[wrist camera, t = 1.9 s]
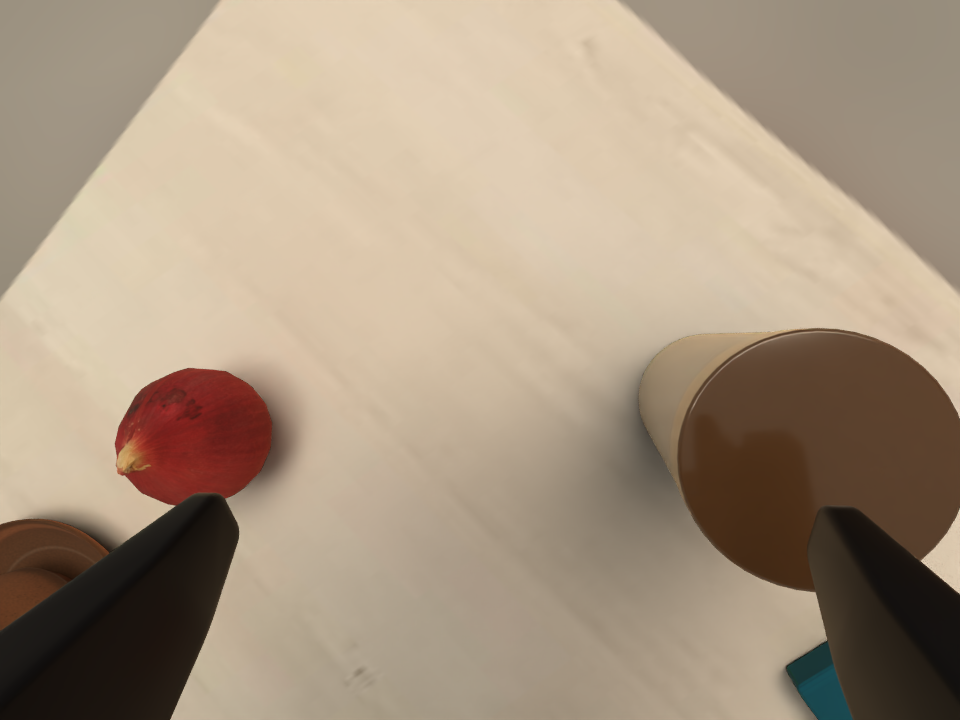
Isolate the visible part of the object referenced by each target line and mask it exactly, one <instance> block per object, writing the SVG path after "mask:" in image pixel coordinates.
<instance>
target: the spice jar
mask: <svg viewBox="0 0 960 720" xmlns="http://www.w3.org/2000/svg"><path fill="white" fill-rule="evenodd" d="M638 402H639V410H640V415H641V418H642V421H643V424H644V426H645V428H646V430H647V432H648V433H649V435H650V437H651V439H652V441H653V442H654V444H655V446H656V448H657V450H658V451H659V453H660V455H661V457H662V459H663V460H664V462H665V464H666V466H667V468H668V469H669V471H670V473H671V475H672V477H673V478H674V480H675V482H676V484H677V487H678V490H679V493H680V495H681V497H682V499H683V500H684V502H685V504H686V506H687V508H688V510H689V512H690V514H691V516H692V517H693V519H694V521H695V523H696V524H697V526H698V527H699V528H700V530H701V531H702V533H703V534H704V536H705V537H706V538H707V539H708V540H709V541H710V542H711V544H712V545H713V546H714V547H715V548H716V549H717V550H718V551H719V552H720V553H722V554H723V555H724V556H725V557H726V558H727V559H729V560H730V561H731V562H733V563H734V564H736V565H737V566H739V567H740V568H742V569H743V570H744V571H746V572H748V573H750V574H752V575H754V576H756V577H758V578H760V579H762V580H765V581H768V582H770V583H773V584H776V585H779V586H783V587H787V588H791V589H795V590H802V591H810V592H816V591H815V587H814V583H813V578H812V574H811V570H810V566H809V562H808V556H807V545H808V540H809V537H810V534H811V531H812V528H813V525H814V521H815V518H816V515H817V512H818V510H819V509H820V508H821V507H822V506H825V505H834V506H852V507H855V508H857V509H859V510H860V511H861V512H863V513H864V514H865V515H866V516H867V517H868V518H870V519H871V520H872V521H873V522H874V523H876V524H877V525H878V526H879V527H880V528H882V529H883V530H884V531H885V532H886V533H887V534H889V535H890V536H891V537H892V538H893V539H895V540H896V541H897V542H898V543H899V544H901V545H902V546H903V547H904V548H905V549H906V550H908V551H909V552H910V553H911V554H912V555H914V556H915V557H916V558H917V559H918V560H920V561H921V560H922V559H923V558H924V557H925V556H926V555H927V554H928V553H929V552H931V551H932V550H933V549H934V548H935V547H936V545H937V544H938V543H939V542H940V541H941V539H942V538H943V537H944V536H945V534H946V533H947V531H948V530H949V528H950V526H951V525H952V523H953V521H954V520H955V518H956V516H957V513H958V511H959V509H960V418H959V416H958V413H957V411H956V409H955V407H954V406H953V404H952V402H951V400H950V398H949V396H948V395H947V394H946V392H945V391H944V390H943V388H942V387H941V386H940V384H939V383H938V381H937V380H936V379H935V378H934V377H933V376H932V375H931V374H930V373H929V372H928V371H927V370H926V369H925V368H924V367H923V366H922V365H920V364H919V363H918V362H916V361H915V360H914V359H913V358H911V357H910V356H909V355H907V354H905V353H904V352H902V351H900V350H899V349H897V348H895V347H894V346H892V345H890V344H887V343H885V342H883V341H880V340H878V339H876V338H873V337H870V336H867V335H863V334H860V333H856V332H851V331H845V330H839V329H825V328H808V329H791V330H780V331H775V332H752V333H719V334H698V335H693V336H688V337H685V338H682V339H679V340H677V341H675V342H673V343H671V344H670V345H668V346H667V347H665V348H664V349H663V350H661V351H660V352H659V353H658V354H657V355H656V356H655V357H654V358H653V359H652V361H651V362H650V364H649V365H648V366H647V368H646V370H645V372H644V374H643V377H642V380H641V383H640V387H639V396H638Z"/></svg>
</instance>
